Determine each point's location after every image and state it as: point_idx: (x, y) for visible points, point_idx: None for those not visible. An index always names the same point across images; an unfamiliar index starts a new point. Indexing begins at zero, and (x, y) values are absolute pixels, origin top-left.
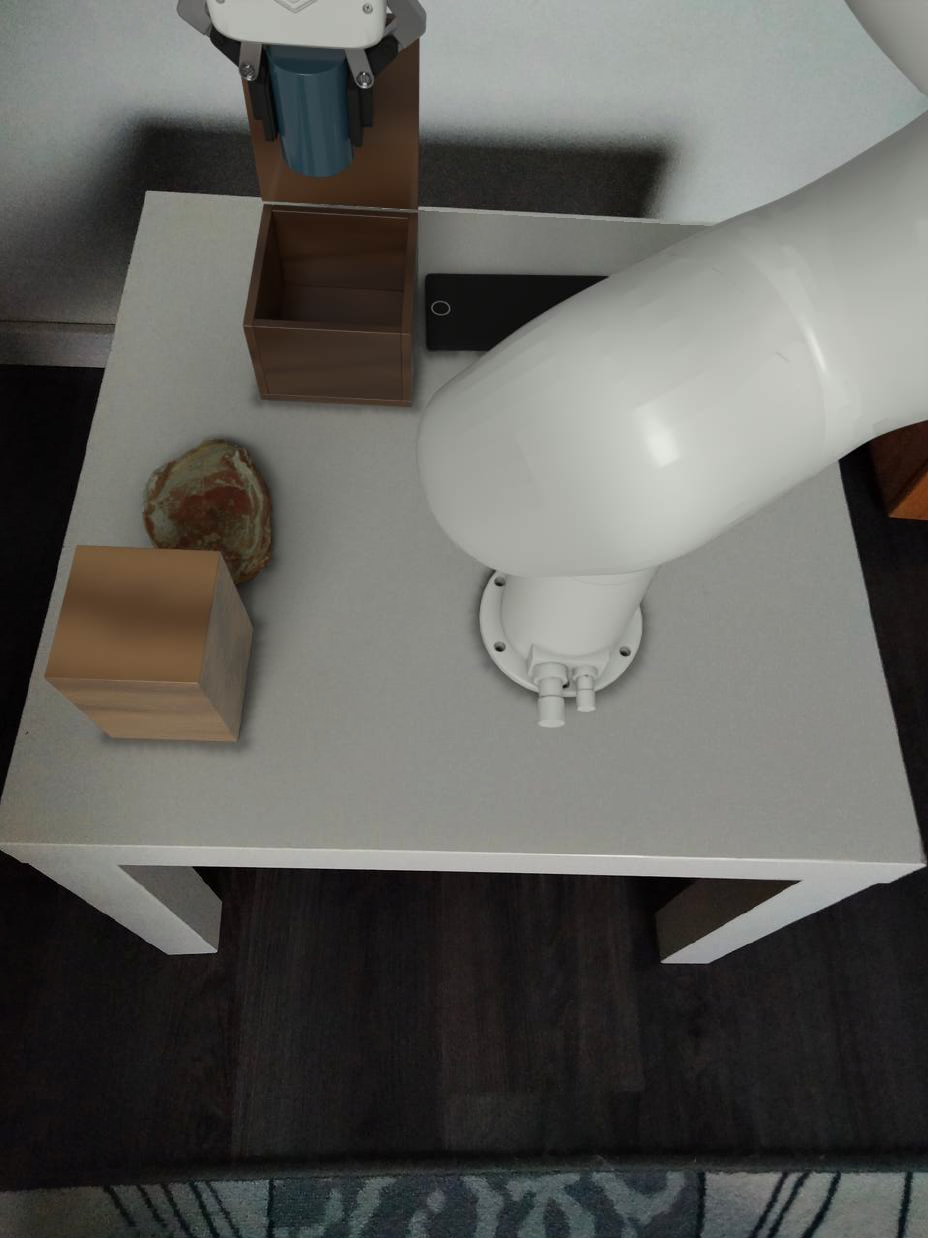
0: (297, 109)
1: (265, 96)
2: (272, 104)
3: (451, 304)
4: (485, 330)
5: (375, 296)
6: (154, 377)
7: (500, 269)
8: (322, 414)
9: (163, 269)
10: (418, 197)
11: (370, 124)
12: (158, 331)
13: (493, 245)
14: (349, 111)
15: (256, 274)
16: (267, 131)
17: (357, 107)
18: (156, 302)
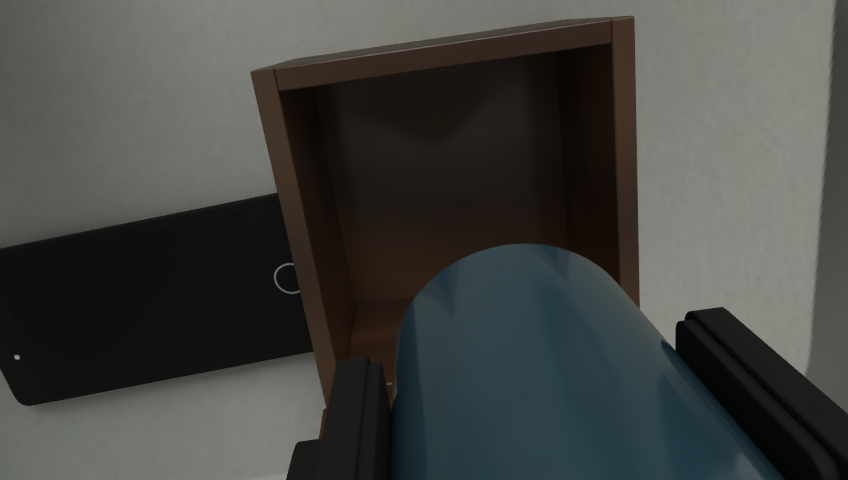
0: (626, 379)
1: (809, 422)
2: (745, 420)
3: (274, 290)
4: (200, 246)
5: (410, 282)
6: (764, 32)
7: (221, 387)
8: (450, 8)
9: (776, 271)
10: (320, 429)
11: (302, 444)
12: (769, 138)
13: (246, 431)
14: (370, 451)
15: (626, 173)
16: (727, 324)
17: (322, 469)
18: (780, 200)
